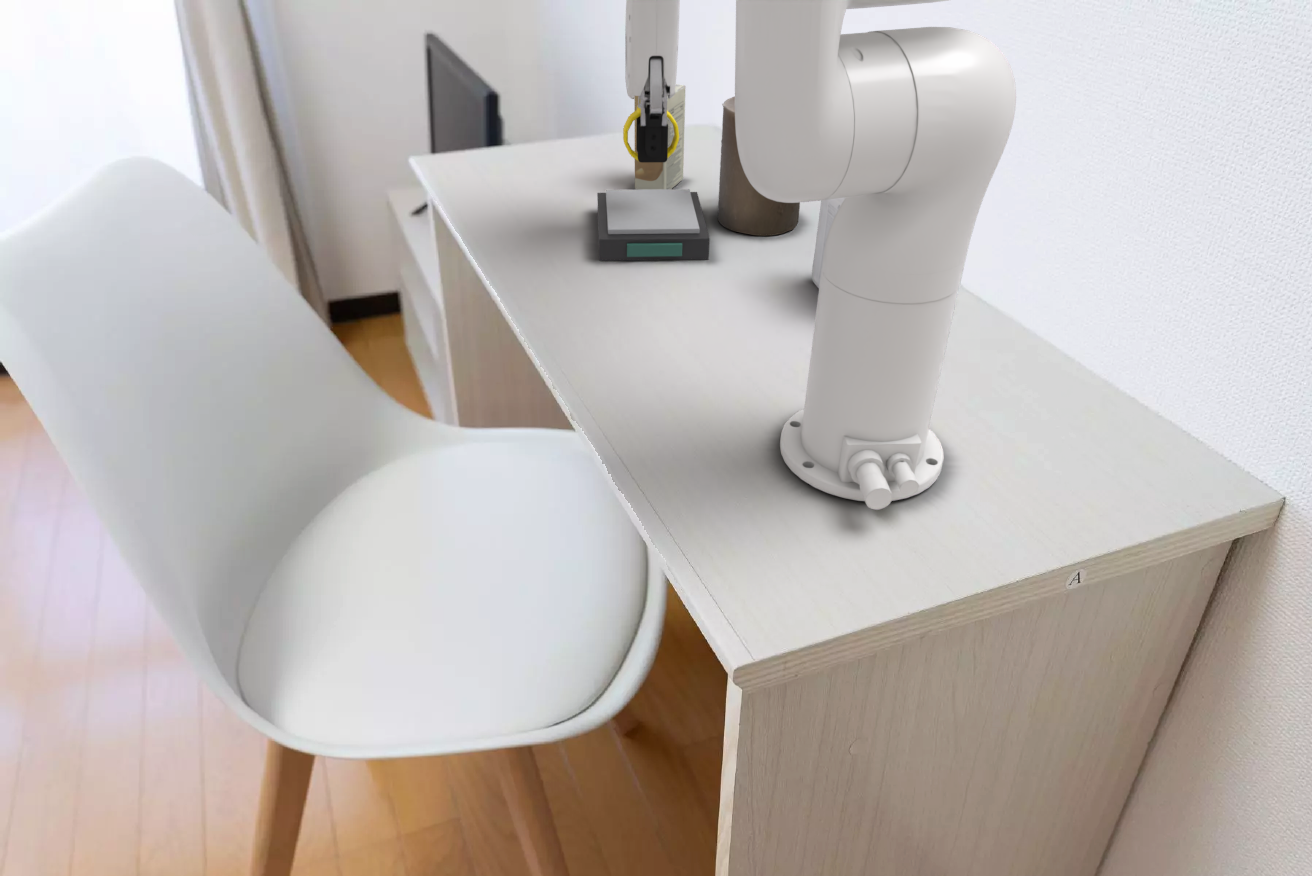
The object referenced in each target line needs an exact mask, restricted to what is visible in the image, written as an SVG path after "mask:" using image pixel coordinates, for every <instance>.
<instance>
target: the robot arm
mask: <svg viewBox="0 0 1312 876" xmlns="http://www.w3.org/2000/svg"><path fill="white" fill-rule="evenodd" d="M947 1H950V0H735V49H734V51H735V53H734V55H735V56H734V57H735V58H734V60H735V61H734V62H735V63H734V68H735V69H734V96H735V129H736V139H737V147H738V153H739V157H740V161H741V165H742V167H743V170H744V173H745V175H746V177H747V179H748V180H749V182H750V184H751V185H752V186H753V187H754V188H755V190H756V191H757V192H759V193H760V194H761V195H763V196H765V197H766V198H768V199H771V200H774V201H777V202H784V203H799V202H800V203H809V202H810V203H811V202H821V200H828V199H836V198H843V197H846V198H845V199H844V201H843V203H842V204H841V206H840V208H839V210H838V212H837V214H836V216H835V218H834V220H833V223H832V225H831V227H830V230H829V233H828V236H827V240H826V244H825V249H824V256H823V264H822V270H821V278H820V286H819V288H818V295H817V302H816V310H815V318H814V326H813V333H812V334H813V335H812V342H811V352H810V359H809V368H808V375H807V384H806V391H805V399H804V407H803V408H802V409H800V410H798V411H797V412H795V413H794V414H793V415H791V416H790V417H789V418H788V419H787V421H785V423H784V425H783V428H782V430H781V432H780V441H779V448H780V455H781V457H782V459H783V462H784V463H785V464H786V466H787V467H788V468H789V469H790V471H791V472H792V473H793V474H794V475H796V476H797V477H798V478H799V479H800V480H801V481H803V482H805V483H806V484H809V485H810V486H811V487H813V488H814V489H817V490H818V491H822V492H824V493H826V494H829V495H832V496H835V497H839V498H843V499H847V500H852V501H856V502H857V501H858V502H864V503H865V505H866V506H867V508H869V509H871V510H876V511H878V510H882V509H885V508H887V507H888V506H889V505H890V504H892V503H891V502H892V501H893V502H894V501H898V500H903V499H908V498H910V497H914V496H916V495H919V494H920V493H922V492H924V491H926V490H927V489H929V488H930V487H931V486H932V485H933V484H934V483H935V482H936V481H937V480H938V478H939V476H940V474H941V473H942V469H943V464H944V460H945V456H944V448H943V446H942V443H941V440H940V439H939V438H938V436H937V435H936V433H935V432H934V431H933V430H932V429H930V425H931V420H932V416H933V411H934V407H935V402H936V398H937V393H938V388H939V385H940V384H939V383H940V379H941V375H942V370H943V365H944V361H945V357H946V352H947V350H946V349H947V346H948V343H949V337H950V333H951V327H952V323H953V320H954V319H953V318H954V314H955V310H956V304H957V300H958V295H959V291H960V286H961V284H962V279H963V274H964V270H965V265H966V260H967V257H968V251H969V249H970V244H971V241H972V240H971V239H972V236H973V232H974V229H975V225H976V223H977V218H978V215H979V212H980V209H981V207H982V204H983V200H984V198H985V195H986V194H987V193H986V192H987V190H988V188H989V185H990V183H991V181H992V179H993V176H994V174H995V172H996V169H997V167H998V165H999V163H1000V161H1001V158H1002V156H1003V153H1004V151H1005V149H1006V146H1007V144H1008V141H1009V138H1010V134H1011V132H1012V129H1013V126H1014V125H1013V124H1014V120H1015V114H1016V109H1017V107H1016V106H1017V87H1016V79H1015V76H1014V72H1013V69H1012V66H1011V65H1010V62H1009V60H1008V58H1007V57H1006V55H1005V54H1004V53H1003V51H1002V50H1001V49H1000V48H999V47H998V46H997V45H996V44H995V43H994V42H993V41H991V40H990V39H989V38H987V37H985V36H983V35H982V34H979V33H976V32H975V31H972V30H968V29H963V28H958V27H951V26H923V27H922V26H921V27H909V28H897V29H881V30H871V31H870V30H869V31H867V32H866V31H865V32H854V33H842V28H843V22H844V18H845V15H846V11H847V10H856V9H871V8H885V7H895V6H907V5H908V6H909V5H921V4H933V3H941V2H947ZM625 2H626V3H625V25H624V26H625V29H624V31H625V43H624V45H625V47H624V49H625V52H624V54H625V61H624V62H625V63H624V65H625V66H624V69H625V70H624V71H625V72H624V79H625V87H626V94H627V96H628V97H629V98H630V99H631V100H634V96H639V103H638V105H639V104H641V115H640V116H639V117H638V118H637V130H636V149H637V152H638V161H639V162H666V161H667V156H668V124H667V95H668V98H669V99H670V98H672V97H673V96H674V95H675V86H676V84H677V73H678V58H679V57H678V56H679V38H680V37H679V36H680V35H679V34H680V33H679V32H680V0H626V1H625ZM646 103H649V105H647V106H646Z"/></svg>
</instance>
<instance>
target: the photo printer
mask: <svg viewBox="0 0 1312 876" xmlns="http://www.w3.org/2000/svg"><path fill="white" fill-rule="evenodd" d="M845 198H846V197H843V198H836V199H828V200H821V201H820V205H819V215H818V222H817V231H816V238H815V246H814V253H813V259H812V260H813V261H812V268H811V269H812V270H811V280H812V282H813V283H814V285H815V286H816V287H817V289H819V286H820V278H821V270H822V264H823V256H824V249H825V244H826V240H827V236H828V233H829V230H830V227H831V225H832V223H833V220H834V218H835V216H836V214H837V212H838V210H839V208H840V206H841V204H842V203H843V201H844V199H845Z"/></svg>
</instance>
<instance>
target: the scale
mask: <svg viewBox="0 0 1312 876" xmlns="http://www.w3.org/2000/svg"><path fill="white" fill-rule="evenodd" d="M596 193H597V194H596V195H597V230H598V233H597V234H598V258H599V259H598V260H599V261H600V262H601V261H602V262H603V261H605V262H606V261H607V262H608V261H688V260H689V261H693V260H695V261H697V260H700V261H701V260H709V259H710V240H711V239H710V235H709V231H708V227H707V223H706V220H705V215H704V213H703V209H702V204H701V202H700V197H699V194H698V192H697V191H691V190H690V188H685V189H684V188H677V189H676V188H672V189H644V190H637V189H605V192H596Z"/></svg>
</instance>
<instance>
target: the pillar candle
mask: <svg viewBox="0 0 1312 876" xmlns="http://www.w3.org/2000/svg"><path fill="white" fill-rule="evenodd" d="M721 105H722V123H721V124H722V125H721V127H722V130H721V140H720V142H721V143H720V145H721V146H720V163H719V165H720V167H719V184H718V185H719V186H718V201H717V202H718V203H717V204H718V205H717V220H718V222H719V224H720V225H721V226H723V227H724V228H726V229H727V230H730V231H733V232H735V233H736V232H737V233H741V234H746V235H752V236H759V237H760V236H765V237H767V236H775V235H781V234H785V233H787V232H789V231H792V230H795V228H796V227H797V225H798V224H799V218H800V208H801V202H799V203H784V202H777V201H774V200H771V199H768V198H766V197H765V196H763V195H761V194H760V193H759V192H757V191H756V190H755V188H754V187H753V186H752V185H751V184H750V182H749V180H748V179H747V177H746V175H745V173H744V170H743V167H742V165H741V161H740V157H739V153H738V147H737V139H736V129H735V95H734V96H732V97H729V98H727V99H725V101H724V102H723V103H721Z"/></svg>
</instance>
